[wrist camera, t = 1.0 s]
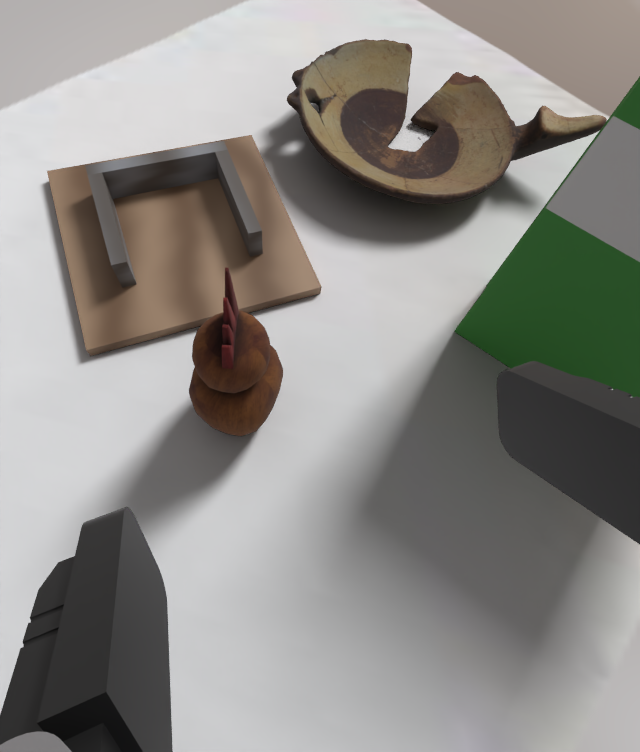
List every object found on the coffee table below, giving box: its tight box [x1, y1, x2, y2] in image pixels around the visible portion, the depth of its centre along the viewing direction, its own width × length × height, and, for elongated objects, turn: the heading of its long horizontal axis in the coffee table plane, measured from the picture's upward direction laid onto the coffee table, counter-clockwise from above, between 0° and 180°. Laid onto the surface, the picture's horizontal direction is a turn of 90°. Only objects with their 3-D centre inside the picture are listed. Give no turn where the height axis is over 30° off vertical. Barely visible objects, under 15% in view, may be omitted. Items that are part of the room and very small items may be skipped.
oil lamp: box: [287, 39, 606, 204], centre depth 46 cm, size 22×30×8 cm
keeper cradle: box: [47, 135, 321, 356], centre depth 41 cm, size 20×20×4 cm
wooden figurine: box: [189, 268, 283, 436], centre depth 29 cm, size 7×6×15 cm
